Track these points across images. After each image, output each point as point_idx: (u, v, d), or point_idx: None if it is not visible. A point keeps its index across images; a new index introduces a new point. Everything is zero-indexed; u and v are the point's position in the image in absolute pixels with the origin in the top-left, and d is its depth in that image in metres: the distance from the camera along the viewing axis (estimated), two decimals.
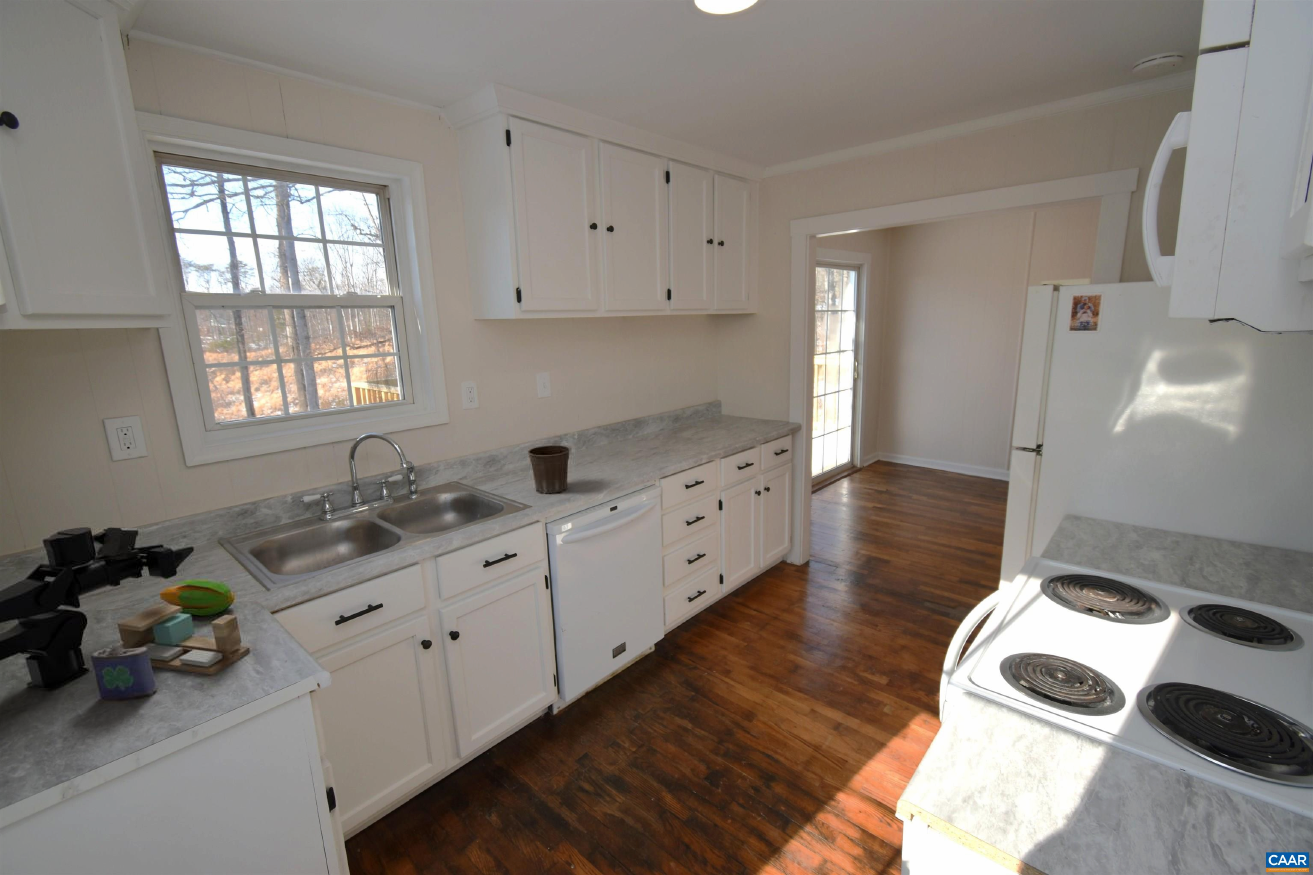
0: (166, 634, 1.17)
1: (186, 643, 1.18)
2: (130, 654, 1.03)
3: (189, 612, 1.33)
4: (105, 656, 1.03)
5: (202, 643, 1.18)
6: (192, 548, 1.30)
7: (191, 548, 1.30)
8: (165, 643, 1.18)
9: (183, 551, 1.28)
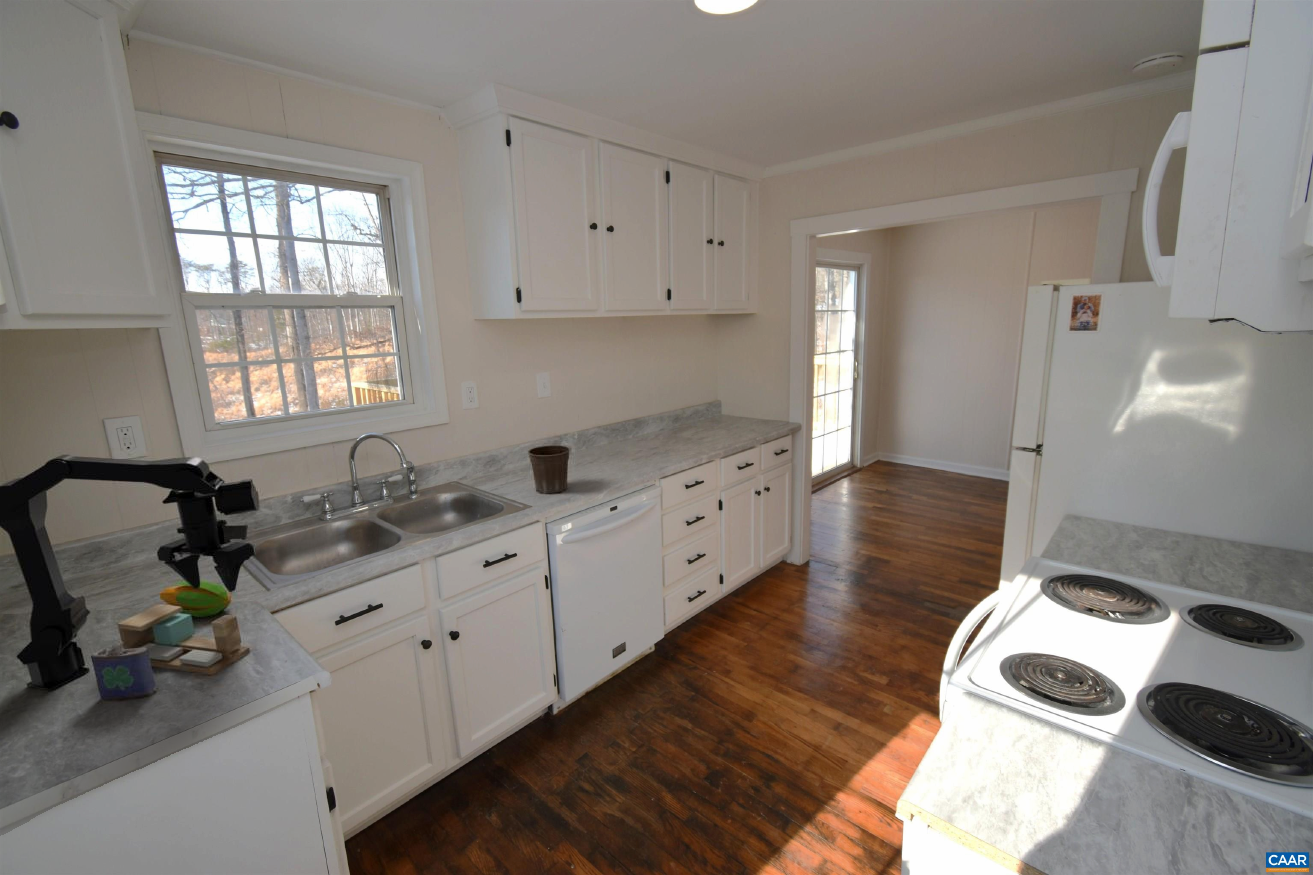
0: (166, 634, 1.17)
1: (186, 643, 1.18)
2: (130, 654, 1.03)
3: (186, 613, 1.32)
4: (105, 656, 1.03)
5: (202, 643, 1.18)
6: (233, 589, 1.19)
7: (234, 587, 1.19)
8: (165, 643, 1.18)
9: (234, 579, 1.18)
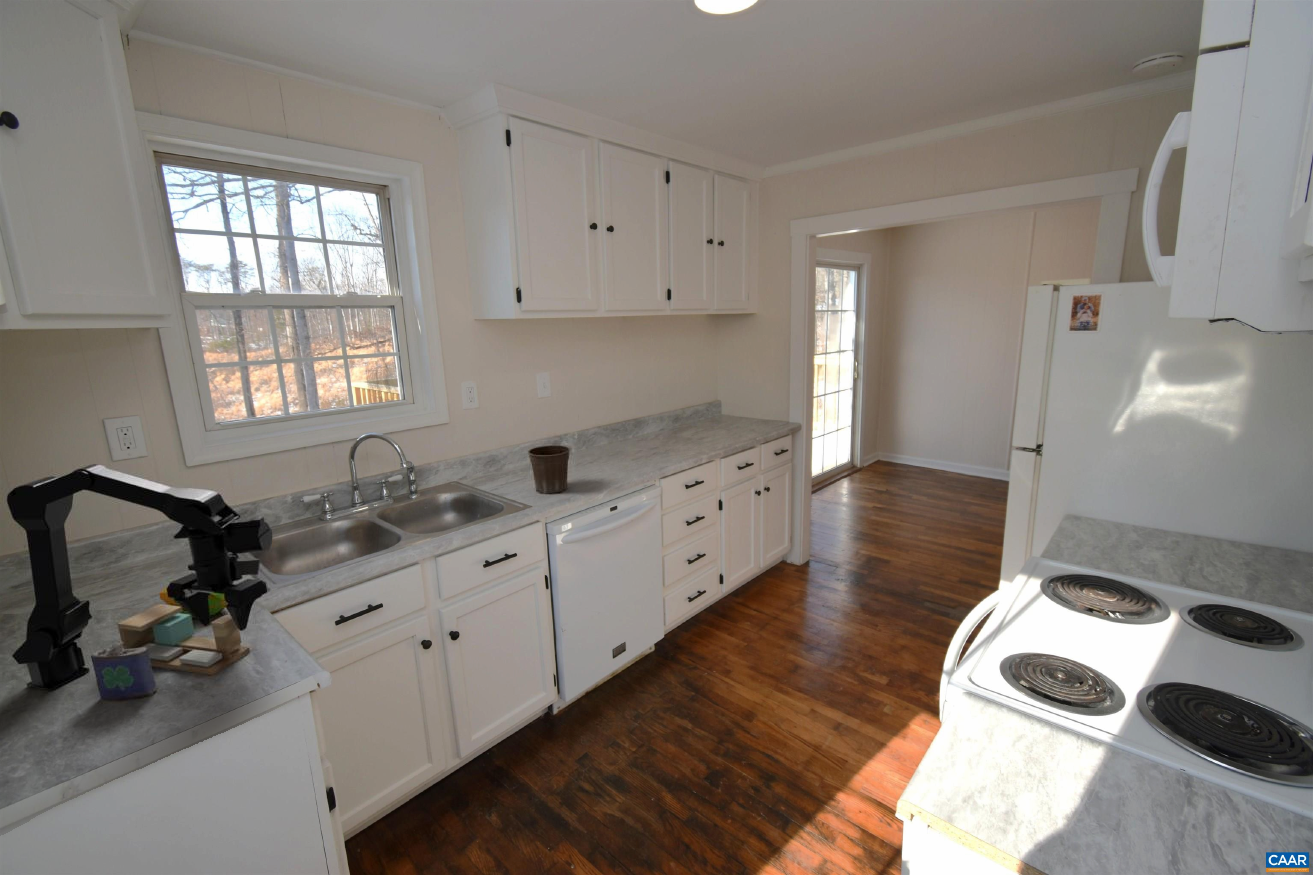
0: (166, 634, 1.17)
1: (186, 643, 1.18)
2: (130, 654, 1.03)
3: None
4: (105, 656, 1.03)
5: (202, 643, 1.18)
6: (244, 627, 1.15)
7: (245, 626, 1.15)
8: (165, 643, 1.18)
9: (245, 617, 1.14)
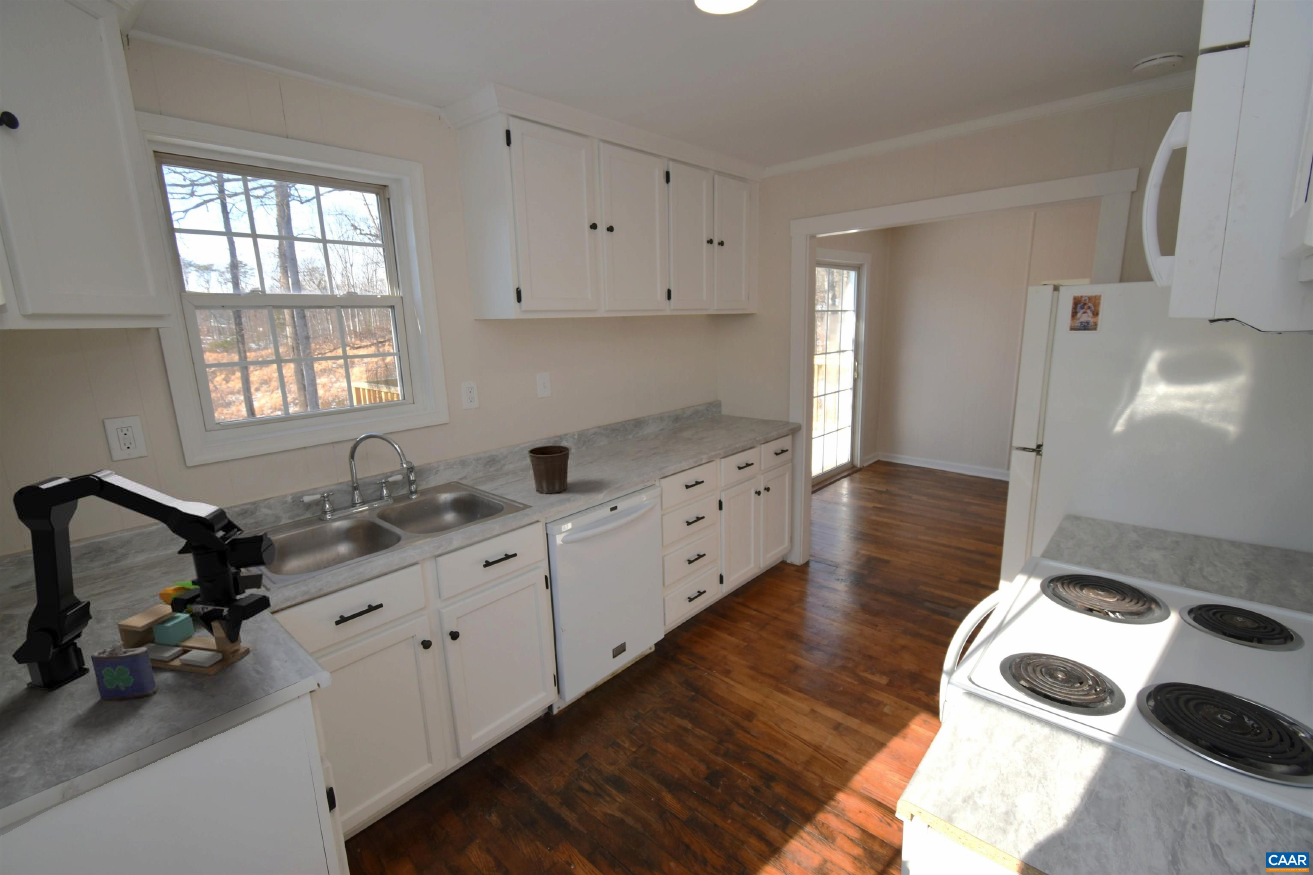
0: (166, 634, 1.17)
1: (186, 643, 1.18)
2: (130, 654, 1.03)
3: None
4: (105, 656, 1.03)
5: (202, 643, 1.18)
6: (236, 640, 1.16)
7: (236, 639, 1.16)
8: (165, 643, 1.18)
9: (236, 630, 1.16)
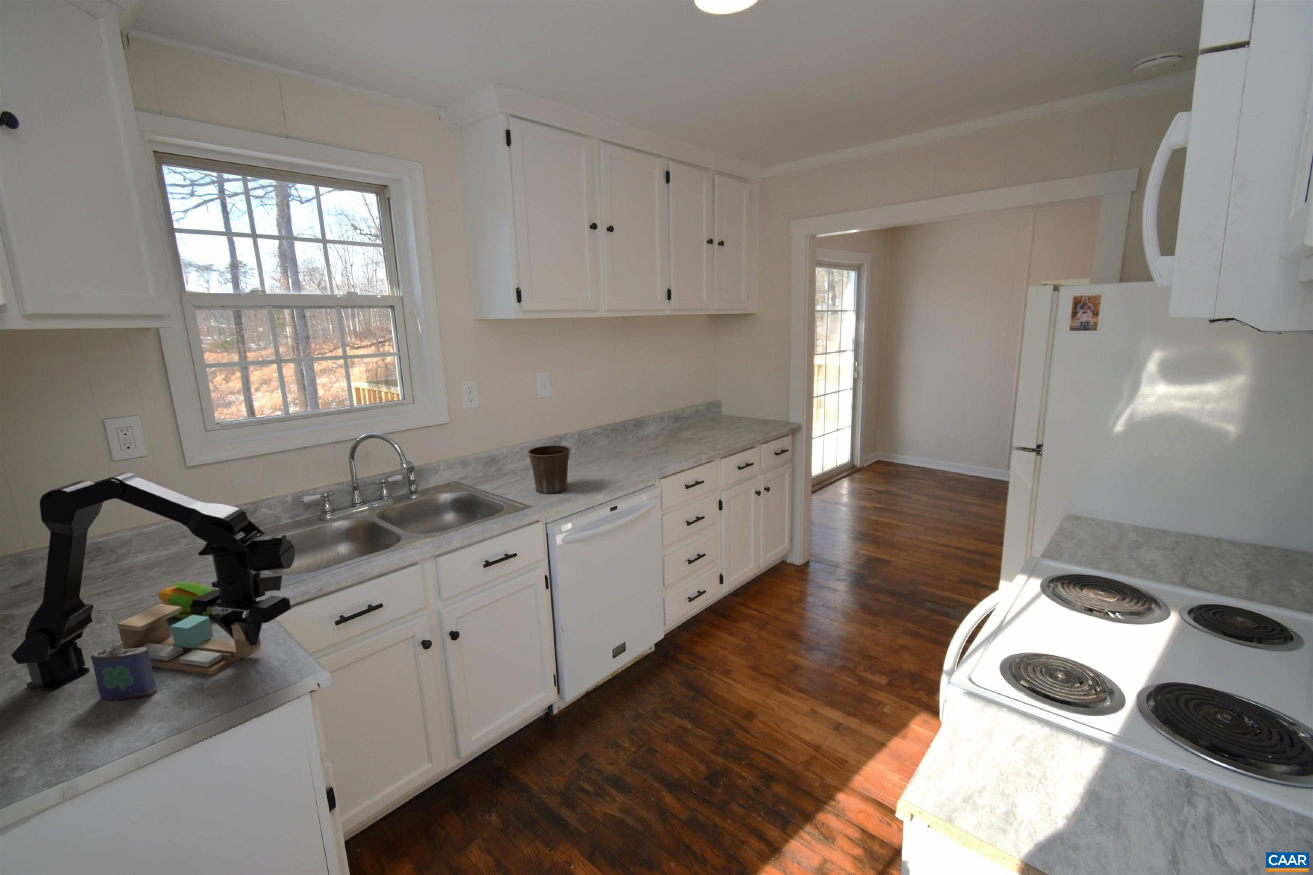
0: (185, 637, 1.16)
1: (205, 646, 1.17)
2: (130, 654, 1.03)
3: (176, 616, 1.31)
4: (105, 656, 1.03)
5: (221, 646, 1.17)
6: (255, 642, 1.15)
7: (256, 641, 1.15)
8: (184, 646, 1.17)
9: (256, 632, 1.15)
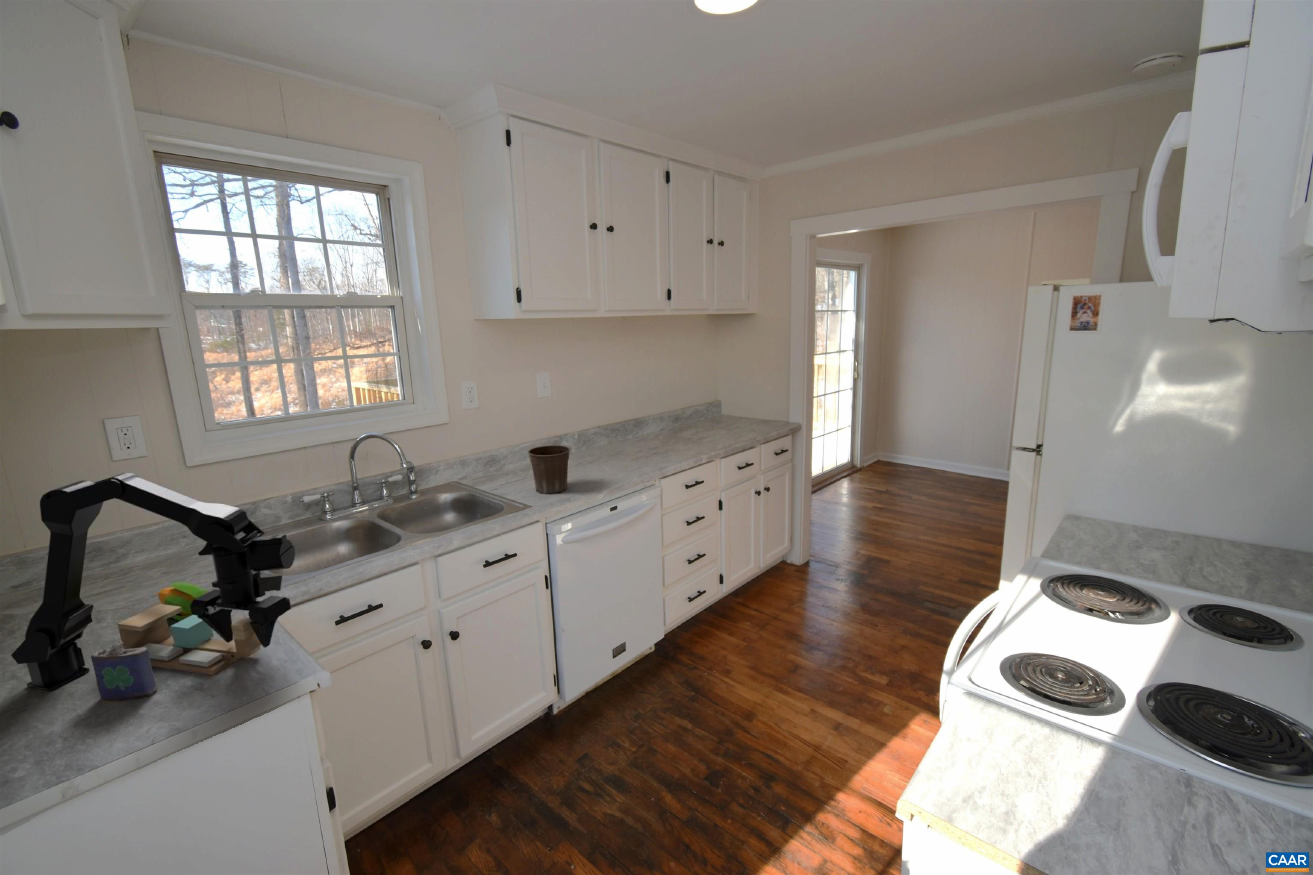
0: (185, 637, 1.16)
1: (205, 646, 1.17)
2: (130, 654, 1.03)
3: (172, 617, 1.31)
4: (105, 656, 1.03)
5: (221, 646, 1.17)
6: (268, 644, 1.14)
7: (268, 643, 1.14)
8: (184, 646, 1.17)
9: (269, 634, 1.14)
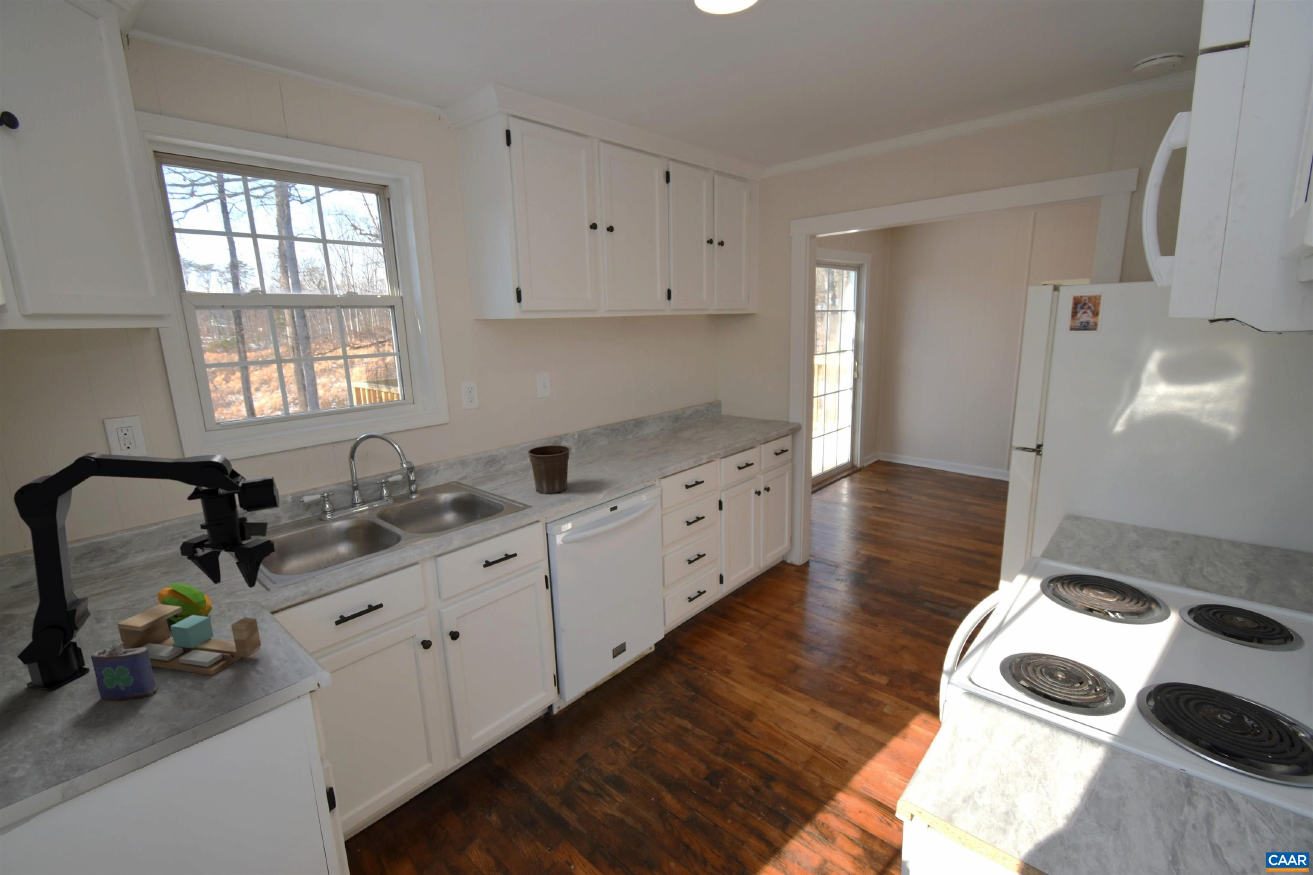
0: (185, 637, 1.16)
1: (205, 646, 1.17)
2: (130, 654, 1.03)
3: (169, 618, 1.30)
4: (105, 656, 1.03)
5: (221, 646, 1.17)
6: (253, 584, 1.21)
7: (254, 583, 1.21)
8: (184, 646, 1.17)
9: (254, 575, 1.21)
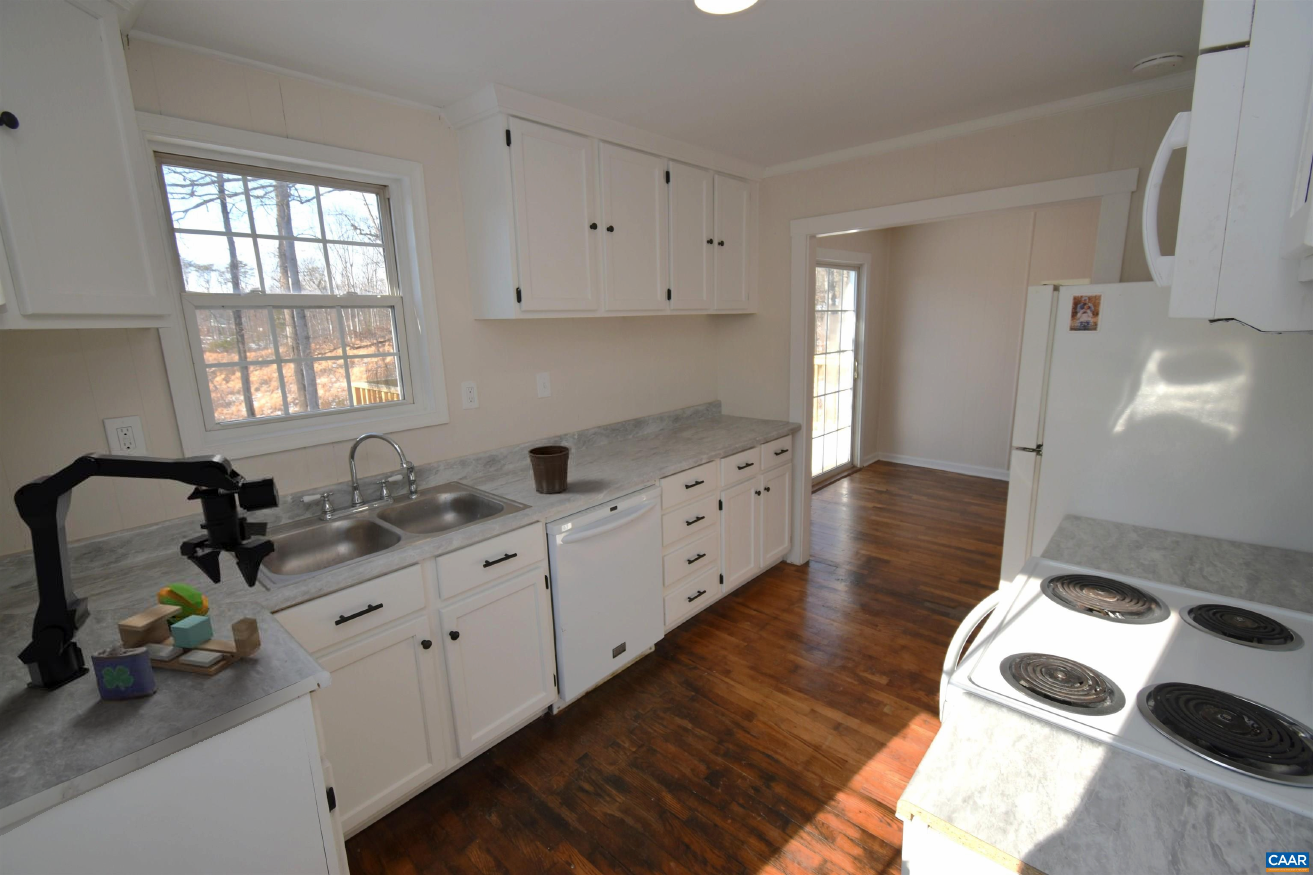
0: (185, 637, 1.16)
1: (205, 646, 1.17)
2: (130, 654, 1.03)
3: (167, 618, 1.30)
4: (105, 656, 1.03)
5: (221, 646, 1.17)
6: (253, 584, 1.21)
7: (254, 583, 1.21)
8: (184, 646, 1.17)
9: (254, 574, 1.21)
